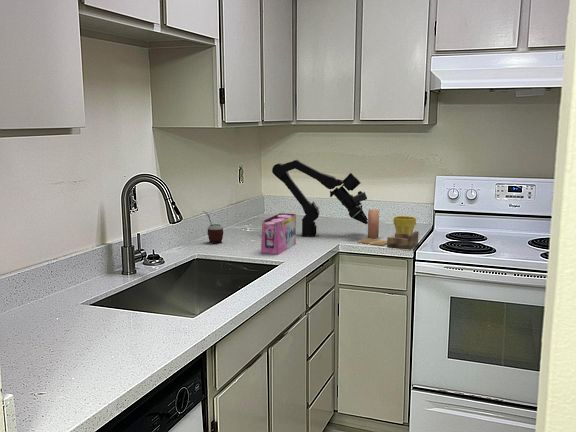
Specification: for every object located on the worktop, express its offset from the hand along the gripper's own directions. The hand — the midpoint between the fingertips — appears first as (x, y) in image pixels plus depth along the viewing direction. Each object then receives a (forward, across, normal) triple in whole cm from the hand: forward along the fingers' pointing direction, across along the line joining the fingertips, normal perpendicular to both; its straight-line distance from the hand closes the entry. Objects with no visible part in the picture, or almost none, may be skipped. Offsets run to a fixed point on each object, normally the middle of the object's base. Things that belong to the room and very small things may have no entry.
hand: (367, 221), depth 265 cm
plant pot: (+18, +2, -7) cm, 19 cm away
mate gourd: (-41, -24, +54) cm, 72 cm away
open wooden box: (+16, -16, -6) cm, 24 cm away
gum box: (-20, -30, +32) cm, 49 cm away
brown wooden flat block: (+12, -14, 0) cm, 19 cm away
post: (+7, 0, +3) cm, 8 cm away
